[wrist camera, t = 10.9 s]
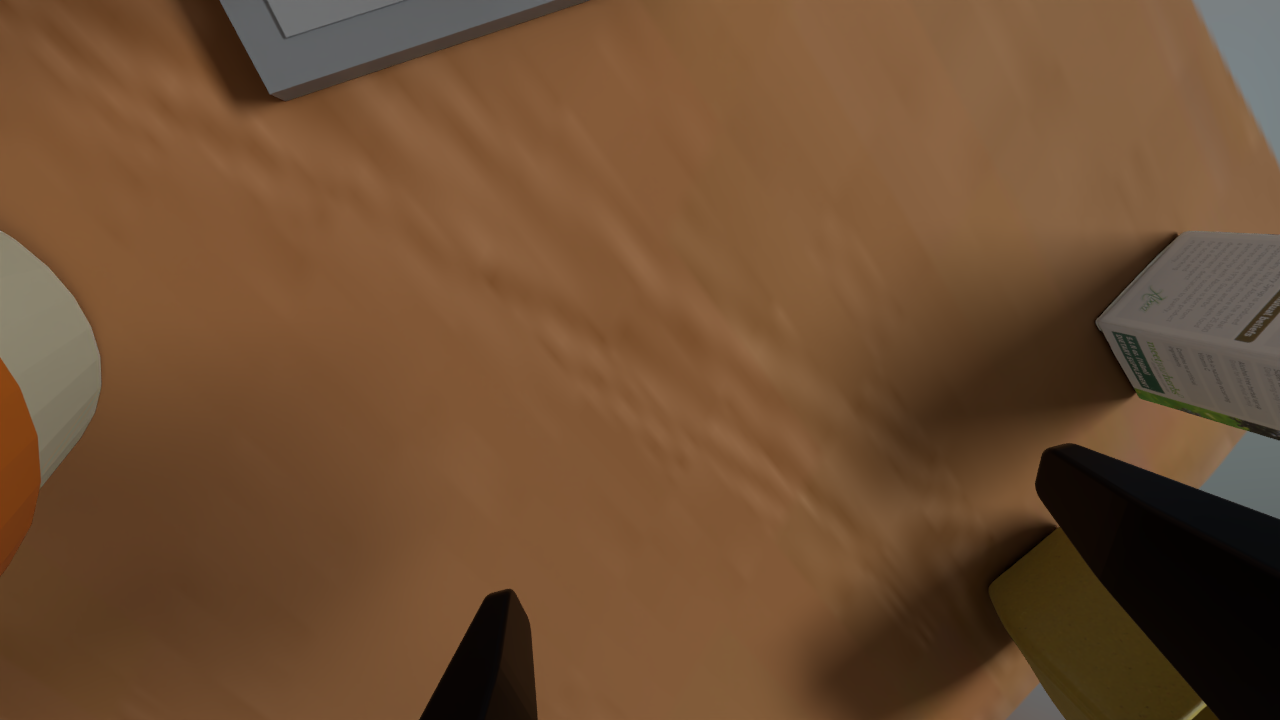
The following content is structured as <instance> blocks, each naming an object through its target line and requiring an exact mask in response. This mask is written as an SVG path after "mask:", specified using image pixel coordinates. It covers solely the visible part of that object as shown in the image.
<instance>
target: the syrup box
mask: <svg viewBox="0 0 1280 720" xmlns="http://www.w3.org/2000/svg"><path fill="white" fill-rule="evenodd" d="M1096 325H1097V327H1098V328H1099V330H1100V331H1103V333H1104V335H1105V337H1106V339H1107V341H1108V342H1109V344H1110V347H1111V349H1112V351H1113V353H1114V355H1115V357H1116V358H1117V360H1118V362H1119V363H1120V365H1121V367H1122V369H1123V370H1124V372H1125V374H1126V376H1127V377H1128V379H1129V381H1130V382H1131V384H1132V386H1133V387H1134V389H1135V391H1136V393H1137V395H1138V396H1139V398H1141V399H1143V400H1146V401H1150V402H1153V403H1157V404H1160V405H1164V406H1167V407H1170V408H1174V409H1177V410H1181V411H1184V412H1187V413H1190V414H1193V415H1197V416H1200V417H1203V418H1206V419H1210V420H1213V421H1216V422H1220V423H1223V424H1226V425H1229V426H1233V427H1236V428H1239V429H1243V430H1247V431H1250V432H1254V433H1257V434H1260V435H1263V436H1266V437H1270V438H1273V439H1277V440H1280V235H1274V234H1248V233H1230V232H1208V231H1187V232H1183V233H1182V234H1180V235H1179V236H1178V237H1177V238H1176V239H1175V240H1174V241H1173V242H1172V243H1171V244H1169V245H1168V246H1167V247H1166V248H1165V249H1164V250H1163V251H1162V252H1161V253H1160V254H1159V255H1158V256H1157V257H1156V258H1155V259H1154V260H1153V261H1152V262H1151V263H1150V264H1149V265H1148V266H1147V267H1146V268H1145V269H1144V270H1143V271H1142V272H1141V273H1140V274H1139V275H1138V276H1137V277H1136V278H1135V279H1134V280H1133V281H1132V282H1131V283H1130V284H1129V285H1128V286H1127V288H1126V289H1125V290H1124V291H1123V292H1122V293H1121V294H1120V295H1119V296H1118V297H1117V298H1116V299H1115V300H1114V301H1113V302H1112V303H1111V304H1110V305H1109V307H1108V308H1107V309H1106V310H1105V311H1104V312H1103V313H1102V314H1101V316H1100V317H1098V318H1097V320H1096Z"/></svg>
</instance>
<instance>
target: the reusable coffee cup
mask: <svg viewBox="0 0 1280 720" xmlns="http://www.w3.org/2000/svg"><path fill="white" fill-rule="evenodd" d="M100 390H101V362H100V354H99V351H98V348H97V344H96V341H95V338H94V334H93V331H92V328H91V326H90V324H89V322H88V320H87V319H86V317H85V315H84V313H83V312H82V310H81V308H80V306H79V305H78V303H77V301H76V300H75V298H74V296H73V295H72V294H71V293H70V292H69V290H68V289H67V288H66V287H65V286H64V285H63V283H62V282H61V281H60V280H59V279H58V278H57V277H56V275H55V274H54V273H53V272H52V271H51V270H50V268H49V267H48V266H47V265H45V264H44V263H43V262H42V261H40V260H39V259H38V258H37V257H36V256H34V255H33V254H32V253H31V252H30V251H28V250H27V249H26V248H25V247H24V246H22V245H21V244H20V243H19V242H18V241H16V240H15V239H14V238H12V237H10V236H9V235H7V234H6V233H4V232H2V231H1V230H0V576H1V575H2V574H3V572H4V571H5V570H6V568H7V567H8V565H9V564H10V562H11V560H12V559H13V557H14V555H15V553H16V551H17V550H18V548H19V546H20V544H21V542H22V541H23V539H24V537H25V535H26V534H27V532H28V530H29V528H30V526H31V524H32V520H33V515H34V511H35V507H36V502H37V498H38V493H39V490H40V488H41V487H42V486H43V485H44V483H45V482H46V481H47V480H48V478H49V477H50V476H51V475H52V473H53V472H54V471H55V470H56V468H57V467H58V466H59V465H60V463H61V462H62V461H63V460H64V458H65V457H66V456H67V455H68V453H69V452H70V451H71V450H72V448H73V447H74V446H75V445H76V443H77V442H78V441H79V440H80V438H81V437H82V435H83V433H84V431H85V430H86V428H87V426H88V424H89V422H90V421H91V419H92V417H93V415H94V413H95V410H96V406H97V402H98V398H99V394H100Z"/></svg>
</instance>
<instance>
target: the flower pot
mask: <svg viewBox="0 0 1280 720" xmlns="http://www.w3.org/2000/svg"><path fill="white" fill-rule="evenodd" d="M988 591H989V596H990V598H991V601H992V603H993V605H994V608H995V610H996V612H997V614H998V616H999V618H1000V620H1001V622H1002V623H1003V625H1004V627H1005V628H1006V630H1007V632H1008V633H1009V635H1010V636H1011V638H1012V639H1013V641H1014V642H1015V643H1016V645H1017V646H1018V648H1019V649H1020V651H1021V652H1022V654H1023V655H1024V657H1025V659H1026V660H1027V662H1028V663H1029V665H1030V666H1031V668H1032V670H1033V671H1034V673H1035V674H1036V676H1037V678H1038V680H1039V681H1040V683H1041V684H1042V686H1043V688H1044V689H1045V691H1046V692H1047V694H1048V695H1049V697H1050V698H1051V700H1052V701H1053V703H1054V704H1055V705H1056V707H1057V708H1058V709H1059V711H1060V712H1061V714H1062V715H1063V716H1064V718H1065V719H1066V720H1219V719H1218V718H1217V717H1216V716H1215V714H1214V713H1213V712H1212V711H1211V710H1210V709H1209V707H1208V706H1207V705H1206V704H1205V703H1204V702H1203V701H1202V699H1201V698H1200V697H1199V696H1198V695H1197V694H1196V692H1195V691H1194V690H1193V689H1192V688H1191V687H1190V686H1189V684H1188V683H1187V682H1186V681H1185V680H1184V679H1183V677H1182V676H1181V675H1180V674H1179V673H1178V672H1177V671H1176V669H1175V668H1174V667H1173V666H1172V665H1171V664H1170V662H1169V661H1168V660H1167V659H1166V658H1165V657H1164V656H1163V654H1162V653H1161V652H1160V651H1159V650H1158V649H1157V647H1156V646H1155V645H1154V644H1153V643H1152V642H1151V641H1150V639H1149V638H1148V637H1147V636H1146V635H1145V634H1144V632H1143V631H1142V630H1141V629H1140V628H1139V627H1138V626H1137V624H1136V623H1135V622H1134V621H1133V620H1132V619H1131V617H1130V616H1129V615H1128V614H1127V613H1126V612H1125V611H1124V609H1123V608H1122V607H1121V606H1120V605H1119V604H1118V602H1117V601H1116V600H1115V599H1114V598H1113V597H1112V595H1111V594H1110V593H1109V592H1108V591H1107V590H1106V588H1105V587H1104V586H1103V585H1102V583H1101V582H1100V581H1099V580H1098V578H1097V577H1096V576H1095V575H1094V573H1093V572H1092V571H1091V569H1090V568H1089V567H1088V565H1087V564H1086V562H1085V561H1084V560H1083V558H1082V557H1081V556H1080V554H1079V553H1078V551H1077V550H1076V549H1075V547H1074V546H1073V544H1072V543H1071V542H1070V540H1069V539H1068V537H1067V536H1066V535H1065V533H1064V532H1063V530H1062V529H1061V528H1060V527H1059V528H1057V529H1056V530H1055V531H1053V532H1052V533H1051V534H1050V535H1049V536H1047V537H1046V538H1045V539H1044V540H1043V541H1041V542H1040V543H1039V544H1038V545H1037V546H1036V547H1035V548H1033V549H1032V550H1031V551H1030V552H1028V553H1027V554H1026V555H1025V556H1024V557H1022V558H1021V559H1020V560H1019V561H1017V562H1016V563H1015V564H1014V565H1013V566H1012V567H1010V568H1009V569H1008V570H1007V571H1005V572H1004V573H1003V574H1002V575H1000V576H999V577H998V578H997V579H996V580H994V581H993V582H992V583H991V585H990V586H989V590H988Z"/></svg>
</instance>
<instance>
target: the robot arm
mask: <svg viewBox="0 0 1280 720" xmlns="http://www.w3.org/2000/svg"><path fill="white" fill-rule="evenodd" d="M1035 488H1036V491H1037V494H1038V496H1039V498H1040V500H1041V501H1042V502H1043V504H1044V505H1045V507H1046V508H1047V509H1048V511H1049V512H1050V514H1051V515H1052V516H1053V518H1054V519H1055V521H1056V522H1057V523H1058V525H1059V526H1060V528H1061V529H1062V530H1063V532H1064V533H1065V535H1066V536H1067V537H1068V539H1069V540H1070V542H1071V543H1072V544H1073V546H1074V547H1075V549H1076V550H1077V551H1078V553H1079V554H1080V556H1081V557H1082V558H1083V560H1084V561H1085V562H1086V564H1087V565H1088V567H1089V568H1090V569H1091V571H1092V572H1093V573H1094V575H1095V576H1096V577H1097V578H1098V580H1099V581H1100V582H1101V583H1102V585H1103V586H1104V587H1105V588H1106V590H1107V591H1108V592H1109V593H1110V594H1111V595H1112V597H1113V598H1114V599H1115V600H1116V601H1117V602H1118V604H1119V605H1120V606H1121V607H1122V608H1123V609H1124V611H1125V612H1126V613H1127V614H1128V615H1129V616H1130V617H1131V619H1132V620H1133V621H1134V622H1135V623H1136V624H1137V626H1138V627H1139V628H1140V629H1141V630H1142V631H1143V632H1144V634H1145V635H1146V636H1147V637H1148V638H1149V639H1150V641H1151V642H1152V643H1153V644H1154V645H1155V646H1156V647H1157V649H1158V650H1159V651H1160V652H1161V653H1162V654H1163V656H1164V657H1165V658H1166V659H1167V660H1168V661H1169V662H1170V664H1171V665H1172V666H1173V667H1174V668H1175V669H1176V671H1177V672H1178V673H1179V674H1180V675H1181V676H1182V677H1183V679H1184V680H1185V681H1186V682H1187V683H1188V684H1189V686H1190V687H1191V688H1192V689H1193V690H1194V691H1195V692H1196V694H1197V695H1198V696H1199V697H1200V698H1201V699H1202V701H1203V702H1204V703H1205V704H1206V705H1207V706H1208V707H1209V709H1210V710H1211V711H1212V712H1213V713H1214V714H1215V716H1216V717H1217V718H1218V719H1219V720H1280V519H1278V518H1275V517H1272V516H1269V515H1267V514H1264V513H1261V512H1258V511H1255V510H1253V509H1250V508H1248V507H1245V506H1242V505H1240V504H1237V503H1234V502H1231V501H1229V500H1226V499H1223V498H1221V497H1218V496H1215V495H1212V494H1210V493H1207V492H1204V491H1202V490H1199V489H1196V488H1194V487H1191V486H1188V485H1185V484H1183V483H1180V482H1177V481H1175V480H1172V479H1169V478H1166V477H1164V476H1161V475H1158V474H1156V473H1153V472H1150V471H1147V470H1145V469H1142V468H1139V467H1137V466H1134V465H1131V464H1128V463H1126V462H1123V461H1120V460H1118V459H1115V458H1112V457H1109V456H1107V455H1104V454H1101V453H1099V452H1096V451H1093V450H1091V449H1088V448H1085V447H1082V446H1080V445H1076V444H1072V443H1067V444H1062V445H1058V446H1054V447H1050V448H1047V449H1046V450H1045V451H1044V452H1043V453H1042V456H1041V460H1040V464H1039V468H1038V473H1037V477H1036V481H1035ZM419 720H538V718H537V704H536V690H535V677H534V664H533V651H532V637H531V628H530V623H529V619H528V617H527V615H526V613H525V611H524V609H523V607H522V605H521V603H520V601H519V599H518V597H517V595H516V593H515V592H514V591H513V590H512V589H505V590H501V591H498V592H494V593H491V594H489V595H487V596H486V597H485V599H484V600H483V602H482V604H481V606H480V608H479V610H478V611H477V613H476V615H475V617H474V619H473V621H472V623H471V624H470V626H469V628H468V630H467V632H466V634H465V636H464V637H463V639H462V641H461V643H460V645H459V647H458V649H457V650H456V652H455V654H454V656H453V658H452V660H451V662H450V663H449V665H448V667H447V669H446V671H445V673H444V675H443V676H442V678H441V680H440V682H439V684H438V686H437V688H436V689H435V691H434V693H433V695H432V697H431V699H430V701H429V702H428V704H427V706H426V708H425V710H424V712H423V714H422V715H421V717H420V719H419Z"/></svg>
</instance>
